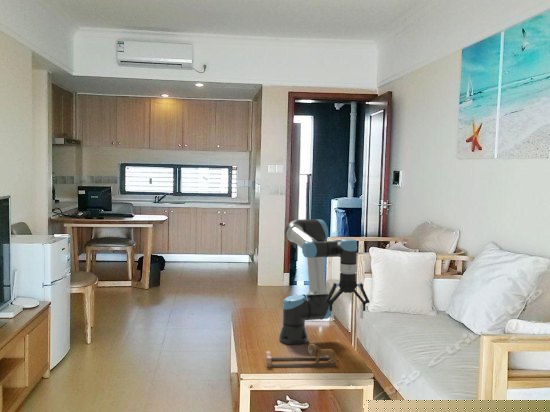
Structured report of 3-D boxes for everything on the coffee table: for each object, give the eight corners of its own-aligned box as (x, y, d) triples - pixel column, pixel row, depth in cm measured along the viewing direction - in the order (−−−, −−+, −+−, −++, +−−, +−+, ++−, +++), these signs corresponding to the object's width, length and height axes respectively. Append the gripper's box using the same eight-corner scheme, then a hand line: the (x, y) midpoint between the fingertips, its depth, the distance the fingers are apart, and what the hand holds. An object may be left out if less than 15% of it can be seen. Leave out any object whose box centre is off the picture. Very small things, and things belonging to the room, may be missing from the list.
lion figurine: (308, 364, 248) (308, 345, 247) (307, 360, 253) (307, 341, 252) (339, 364, 248) (340, 345, 247) (338, 360, 253) (338, 342, 252)
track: (265, 359, 253) (265, 351, 253) (332, 358, 255) (332, 350, 255) (266, 367, 243) (266, 358, 243) (336, 366, 245) (336, 357, 245)
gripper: (322, 274, 243) (321, 319, 244) (376, 274, 244) (375, 320, 245) (320, 270, 250) (319, 315, 252) (372, 271, 252) (371, 315, 253)
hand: (347, 317), depth 249 cm, fingers open, 13 cm apart
